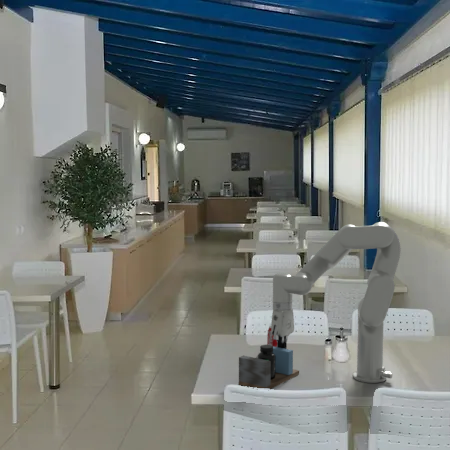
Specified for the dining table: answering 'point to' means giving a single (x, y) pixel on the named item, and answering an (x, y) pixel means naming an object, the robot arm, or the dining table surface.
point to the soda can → (271, 338)
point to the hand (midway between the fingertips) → (281, 351)
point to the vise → (260, 373)
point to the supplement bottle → (268, 357)
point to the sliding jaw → (283, 360)
